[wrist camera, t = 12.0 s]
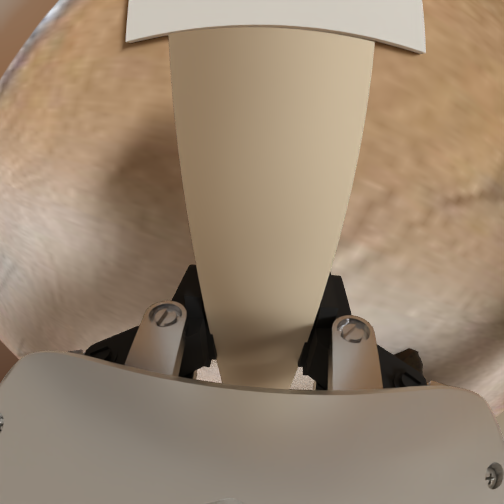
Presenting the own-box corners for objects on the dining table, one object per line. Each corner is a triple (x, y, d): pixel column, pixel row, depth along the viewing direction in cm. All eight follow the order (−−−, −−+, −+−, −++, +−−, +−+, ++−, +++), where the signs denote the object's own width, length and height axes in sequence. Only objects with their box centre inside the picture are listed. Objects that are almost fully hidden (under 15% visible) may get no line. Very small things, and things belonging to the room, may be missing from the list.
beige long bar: (326, 41, 6) (374, 42, 3) (282, 348, 19) (278, 415, 15) (228, 37, 7) (168, 33, 3) (239, 345, 19) (230, 411, 15)
